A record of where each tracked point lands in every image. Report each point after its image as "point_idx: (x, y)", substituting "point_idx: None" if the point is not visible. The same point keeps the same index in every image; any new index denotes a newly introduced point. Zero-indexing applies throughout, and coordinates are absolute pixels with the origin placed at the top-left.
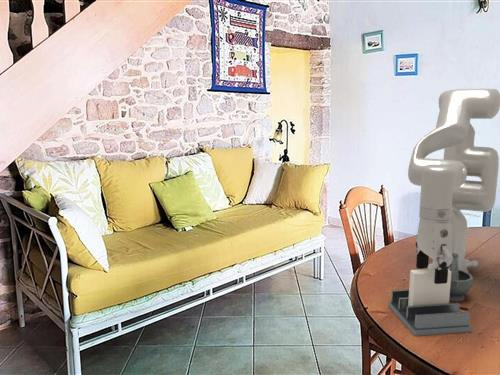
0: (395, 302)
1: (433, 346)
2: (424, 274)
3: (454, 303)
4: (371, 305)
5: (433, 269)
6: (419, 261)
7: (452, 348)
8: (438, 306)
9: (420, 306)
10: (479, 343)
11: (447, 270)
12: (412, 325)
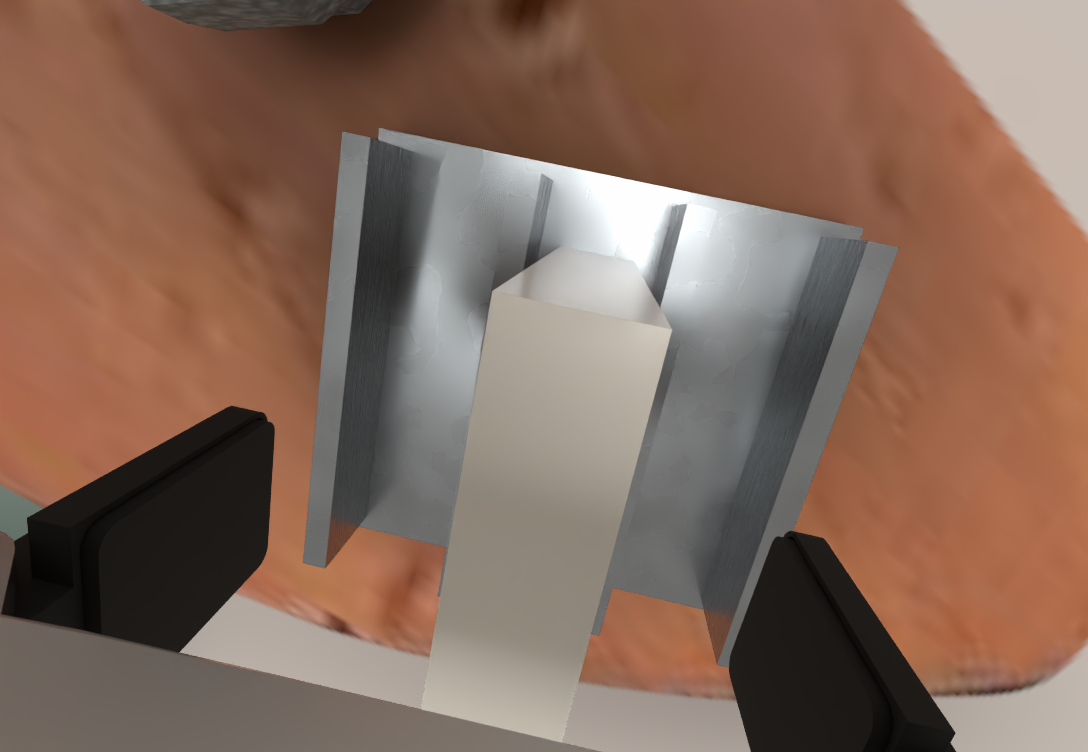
0: (368, 498)
1: (858, 572)
2: (564, 727)
3: (685, 246)
4: (318, 584)
5: (479, 539)
6: (195, 611)
7: (931, 492)
8: (660, 405)
9: (617, 548)
10: (982, 292)
11: (922, 702)
12: (670, 589)
